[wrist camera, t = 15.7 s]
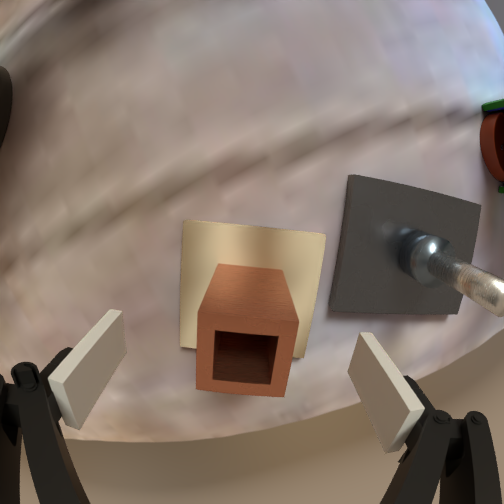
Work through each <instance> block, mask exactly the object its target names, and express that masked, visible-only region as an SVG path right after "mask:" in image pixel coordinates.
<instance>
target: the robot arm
mask: <svg viewBox="0 0 504 504" xmlns="http://www.w3.org/2000/svg"><path fill="white" fill-rule="evenodd" d="M11 101H12V84H11V79H10V75H9V73H8V71H7V70H6V69H5V68H4V67H2V66H0V146H1V144H2V141H3V138H4V135H5V131H6V128H7V124H8V120H9V115H10V109H11ZM126 353H127V351H126V343H125V334H124V324H123V312H122V311H118V310H113V309H110V310H109V311H108V312H107V313H106V314H105V315H104V316H103V317H102V318H101V319H100V320H99V322H98V323H97V324H96V325H95V326H94V327H93V328H92V329H91V330H90V331H89V332H88V333H87V334H86V336H85V337H84V338H83V339H82V340H81V341H80V342H79V343H78V344H77V345H76V346H75V348H74V349H73V348H70V347H67V348H65V349H64V350H62V351H60V352H59V353H58V354H57V355H56V356H55V358H53V359H52V361H51V362H50V363H49V364H48V365H47V366H46V367H45V368H44V369H43V370H42V371H41V373H40V374H39V371H38V368H37V366H36V365H35V364H34V363H31V362H21V363H18V364H17V365H15V366H14V367H13V368H12V369H11V375H12V378H13V381H14V383H15V384H9V383H6V382H5V380H4V378H3V376H2V375H1V374H0V504H20V485H19V484H20V455H21V441H22V434H23V440H24V445H25V450H26V455H27V459H28V463H29V468H30V472H31V475H32V479H33V482H34V486H35V489H36V492H37V496H38V499H39V502H40V504H90V502H89V500H88V498H87V496H86V493H85V491H84V489H83V487H82V485H81V483H80V480H79V477H78V476H77V473H76V470H75V468H74V465H73V462H72V460H71V457H70V454H69V452H68V449H67V446H66V443H65V440H64V437H63V434H62V431H61V427H60V425H59V422H58V421H59V420H60V418H61V417H62V418H63V420H64V422H65V425H67V426H70V427H73V428H75V429H78V430H80V429H81V427H82V425H83V424H84V422H85V420H86V419H87V417H88V415H89V413H90V412H91V410H92V408H93V407H94V405H95V403H96V401H97V400H98V398H99V396H100V395H101V393H102V391H103V390H104V388H105V387H106V385H107V383H108V382H109V380H110V378H111V377H112V375H113V373H114V372H115V370H116V369H117V367H118V365H119V364H120V362H121V361H122V359H123V357H124V356H125V354H126ZM348 374H349V376H350V378H351V380H352V382H353V384H354V386H355V388H356V390H357V393H358V395H359V397H360V399H361V401H362V403H363V405H364V408H365V410H366V412H367V414H368V416H369V419H370V421H371V423H372V425H373V427H374V430H375V432H376V434H377V436H378V439H379V441H380V443H381V445H382V447H383V450H384V452H385V453H390V452H395V451H399V450H400V449H401V447H402V446H403V444H404V443H406V445H407V447H408V448H407V450H406V451H405V453H404V454H403V455H402V457H401V459H400V460H399V461H398V462H399V463H400V464H399V466H398V469H397V471H396V473H395V475H394V477H393V479H392V481H391V483H390V485H389V487H388V489H387V491H386V493H385V495H384V497H383V499H382V501H381V502H380V504H432V501H433V498H434V495H435V492H436V489H437V486H438V483H439V480H440V500H439V504H502V498H501V488H500V481H499V473H498V467H497V461H496V456H495V451H494V446H493V442H492V437H491V432H490V428H489V425H488V420H487V418H486V417H485V416H484V415H483V414H482V413H480V412H477V411H470V412H469V413H467V415H466V416H465V418H464V419H452V417H451V416H450V415H449V414H448V413H447V412H444V411H442V410H435V408H434V407H433V406H432V404H431V403H430V401H429V400H428V398H427V397H426V396H425V394H423V391H422V390H421V389H419V386H418V384H417V383H416V382H415V381H414V380H413V379H412V378H410V377H409V376H408V375H407V376H402V374H401V373H400V371H399V370H398V369H397V367H396V366H395V364H394V363H393V362H392V360H391V359H390V357H389V356H388V355H387V353H386V352H385V350H384V349H383V348H382V346H381V345H380V344H379V342H378V341H377V340H376V338H375V337H374V335H373V334H372V333H359V336H358V340H357V343H356V347H355V350H354V353H353V356H352V360H351V363H350V366H349V369H348Z"/></svg>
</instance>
